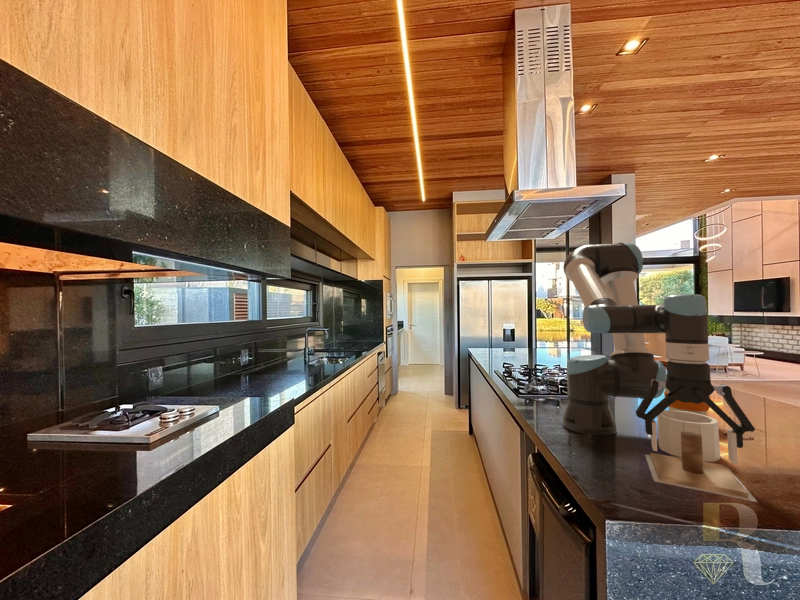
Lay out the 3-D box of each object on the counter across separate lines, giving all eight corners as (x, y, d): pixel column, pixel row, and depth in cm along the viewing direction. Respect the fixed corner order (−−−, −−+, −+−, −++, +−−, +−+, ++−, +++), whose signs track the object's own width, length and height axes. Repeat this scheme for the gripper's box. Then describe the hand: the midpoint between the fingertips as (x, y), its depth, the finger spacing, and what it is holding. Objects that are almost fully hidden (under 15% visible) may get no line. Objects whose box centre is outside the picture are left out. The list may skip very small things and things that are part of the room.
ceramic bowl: (663, 456, 85) (661, 419, 85) (655, 441, 95) (654, 408, 96) (726, 467, 79) (724, 426, 79) (711, 449, 89) (709, 414, 89)
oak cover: (659, 480, 72) (657, 438, 72) (650, 456, 84) (648, 421, 84) (748, 498, 65) (745, 451, 65) (724, 469, 77) (722, 430, 77)
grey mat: (654, 482, 72) (654, 481, 72) (644, 455, 85) (644, 454, 85) (758, 504, 63) (757, 501, 63) (729, 470, 77) (729, 468, 77)
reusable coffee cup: (707, 419, 114) (705, 376, 115) (717, 430, 103) (715, 382, 104) (661, 414, 121) (659, 373, 122) (666, 423, 110) (664, 378, 111)
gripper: (623, 359, 79) (626, 449, 78) (772, 367, 66) (779, 475, 65) (621, 356, 85) (624, 439, 84) (757, 362, 72) (762, 460, 71)
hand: (692, 455), depth 75 cm, fingers open, 13 cm apart
